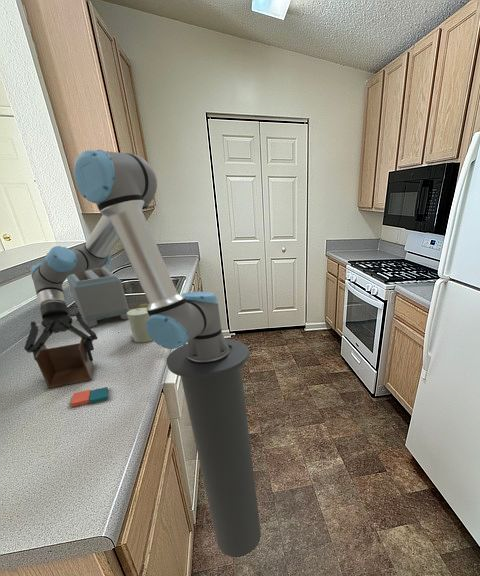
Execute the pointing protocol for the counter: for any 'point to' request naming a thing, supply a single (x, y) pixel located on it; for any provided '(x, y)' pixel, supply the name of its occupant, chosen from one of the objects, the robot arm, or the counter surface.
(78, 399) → the packet coral
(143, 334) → the can
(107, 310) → the toaster
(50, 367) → the brown wooden open box
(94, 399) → the packet teal
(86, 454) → the counter surface
